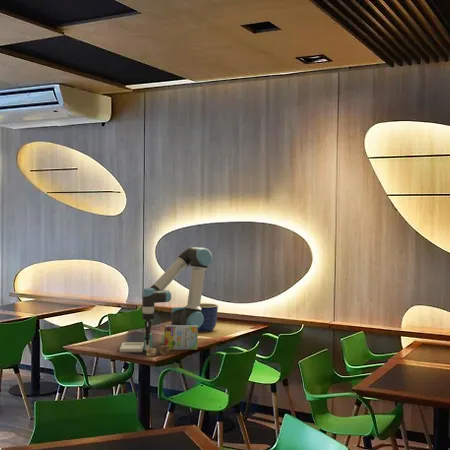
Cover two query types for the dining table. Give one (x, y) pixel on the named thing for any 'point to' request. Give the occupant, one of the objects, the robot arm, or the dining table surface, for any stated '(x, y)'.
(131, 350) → the tray
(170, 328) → the snack box
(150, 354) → the beech block
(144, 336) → the teal block
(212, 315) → the planter
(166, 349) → the walnut cube
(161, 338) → the grey-brown upright piece
